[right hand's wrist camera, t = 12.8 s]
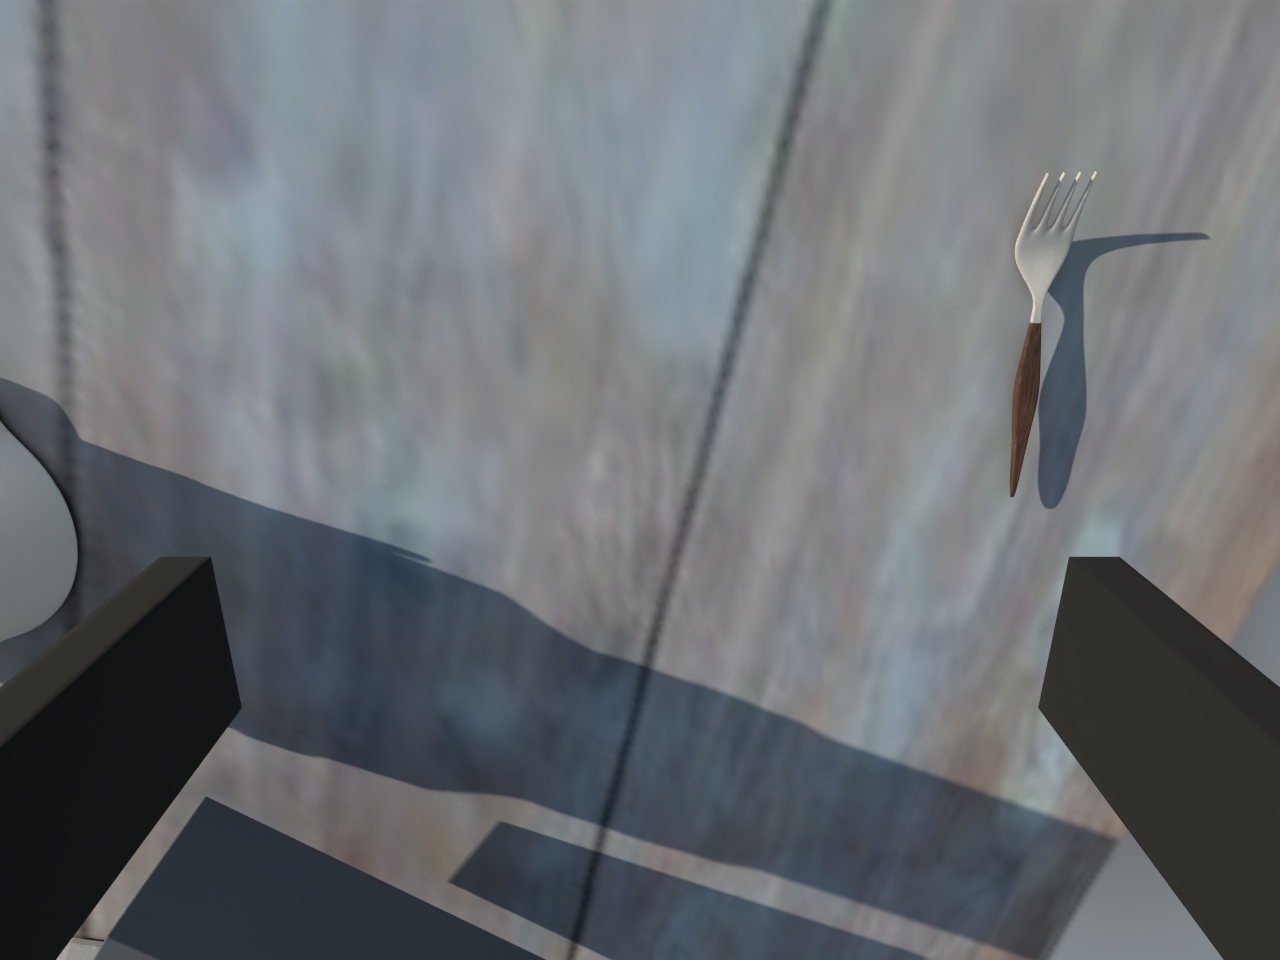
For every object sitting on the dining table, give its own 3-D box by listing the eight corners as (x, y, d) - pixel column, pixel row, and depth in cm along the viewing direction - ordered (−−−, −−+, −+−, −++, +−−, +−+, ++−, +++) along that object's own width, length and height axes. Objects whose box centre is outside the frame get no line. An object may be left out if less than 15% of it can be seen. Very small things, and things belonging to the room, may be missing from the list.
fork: (982, 493, 44) (998, 508, 42) (1023, 172, 38) (1042, 173, 36) (1032, 492, 44) (1049, 507, 42) (1079, 170, 38) (1102, 171, 36)
